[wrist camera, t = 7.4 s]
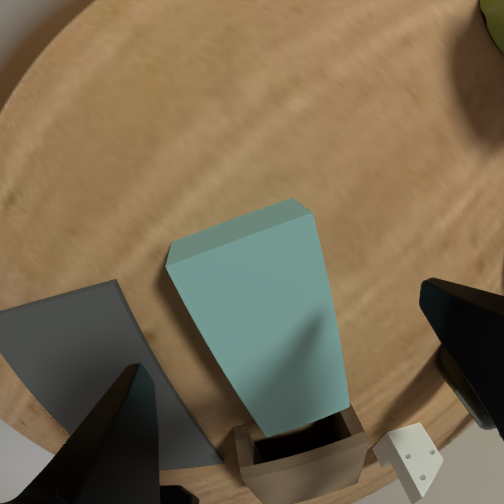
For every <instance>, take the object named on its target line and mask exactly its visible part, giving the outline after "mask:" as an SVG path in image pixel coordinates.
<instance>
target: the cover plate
mask: <svg viewBox="0 0 504 504" xmlns="http://www.w3.org/2000/svg"><path fill="white" fill-rule="evenodd" d="M165 267H166V269H167V271H168V273H169V275H170V277H171V279H172V281H173V283H174V285H175V287H176V289H177V291H178V292H179V294H180V296H181V298H182V300H183V302H184V304H185V306H186V307H187V309H188V311H189V313H190V315H191V317H192V318H193V320H194V322H195V324H196V326H197V327H198V329H199V331H200V333H201V334H202V336H203V338H204V340H205V341H206V343H207V345H208V347H209V348H210V350H211V352H212V353H213V355H214V357H215V358H216V360H217V362H218V363H219V365H220V367H221V368H222V370H223V372H224V373H225V375H226V377H227V378H228V380H229V381H230V383H231V385H232V386H233V388H234V389H235V391H236V392H237V394H238V396H239V397H240V399H241V400H242V402H243V403H244V405H245V406H246V408H247V409H248V411H249V412H250V414H251V415H252V417H253V418H254V420H255V421H256V423H257V424H258V426H259V427H260V428H261V430H262V431H263V433H264V434H265V436H266V437H270V436H273V435H277V434H280V433H283V432H286V431H289V430H292V429H295V428H298V427H301V426H303V425H306V424H309V423H312V422H314V421H317V420H319V419H322V418H324V417H327V416H329V415H332V414H334V413H337V412H339V411H341V410H344V409H346V408H348V407H350V402H349V395H348V387H347V381H346V374H345V367H344V361H343V355H342V349H341V343H340V337H339V332H338V326H337V321H336V316H335V310H334V305H333V300H332V295H331V291H330V286H329V281H328V276H327V272H326V267H325V263H324V258H323V254H322V250H321V245H320V241H319V237H318V233H317V229H316V225H315V221H314V217H313V213H312V212H311V211H310V210H309V209H307V208H306V207H305V206H303V205H302V204H301V203H299V202H298V201H297V200H295V199H294V198H290V199H287V200H284V201H281V202H279V203H276V204H273V205H270V206H267V207H264V208H262V209H259V210H256V211H253V212H251V213H248V214H245V215H242V216H240V217H237V218H234V219H231V220H229V221H226V222H223V223H221V224H218V225H215V226H213V227H210V228H207V229H205V230H202V231H199V232H197V233H194V234H192V235H189V236H187V237H184V238H181V239H179V240H176V241H174V242H172V243H171V246H170V250H169V254H168V258H167V262H166V266H165Z"/></svg>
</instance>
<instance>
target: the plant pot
mask: <svg viewBox="0 0 504 504" xmlns="http://www.w3.org/2000/svg"><path fill="white" fill-rule="evenodd" d="M480 8H481V11H482V12H483V13H484V15H485V17H486V21H487V28H488V30H489V33H490V35H491V37H492V38H493V40H494V42H495V43H496V45H497V46H498V47H499V49H500V50H501V52H502V53H503V54H504V0H480Z"/></svg>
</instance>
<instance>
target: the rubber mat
mask: <svg viewBox="0 0 504 504" xmlns="http://www.w3.org/2000/svg"><path fill="white" fill-rule="evenodd" d="M0 352H1V354H2V355H3V357H4V358H5V360H6V361H7V362H8V364H9V365H10V366H11V368H12V369H13V370H14V372H15V373H16V374H17V376H18V377H19V378H20V379H21V381H22V382H23V383H24V384H25V386H26V387H27V388H28V389H29V391H30V392H31V393H32V394H33V395H34V396H35V398H36V399H37V400H38V401H39V402H40V403H41V404H42V405H43V407H44V408H45V409H46V410H47V411H48V412H49V413H50V414H51V415H52V416H53V417H54V418H55V419H56V420H57V421H58V422H59V423H60V424H61V425H62V426H63V427H64V428H65V429H66V430H67V431H68V432H69V433H70V434H71V435H72V433H73V432H74V431H75V430H76V428H77V427H78V426H79V425H80V423H81V422H82V421H83V420H84V418H85V417H86V416H87V415H88V413H89V412H90V411H91V410H92V408H93V407H94V406H95V405H96V403H97V402H98V401H99V400H100V399H101V397H102V396H103V395H104V394H105V392H106V391H107V390H108V389H109V387H110V386H111V385H112V384H113V383H114V381H115V380H116V379H117V378H118V376H119V375H120V374H121V373H122V372H123V370H124V369H125V368H126V367H127V366H128V365H130V364H135V363H141V364H142V365H143V366H144V367H145V369H146V370H147V372H148V374H149V375H150V377H151V378H152V380H153V382H154V386H155V396H156V407H157V418H158V428H159V470H169V469H182V468H192V467H201V466H209V465H216V464H223V463H224V460H223V458H222V457H221V455H220V454H219V453H218V451H217V450H216V449H215V447H214V446H213V445H212V443H211V442H210V441H209V439H208V438H207V437H206V435H205V434H204V432H203V431H202V430H201V428H200V427H199V425H198V424H197V423H196V421H195V420H194V418H193V417H192V415H191V414H190V412H189V411H188V409H187V408H186V406H185V405H184V403H183V402H182V400H181V399H180V397H179V395H178V394H177V392H176V391H175V389H174V388H173V386H172V384H171V383H170V381H169V379H168V378H167V376H166V374H165V373H164V371H163V369H162V368H161V366H160V364H159V362H158V361H157V359H156V357H155V355H154V354H153V352H152V350H151V348H150V346H149V345H148V343H147V341H146V339H145V337H144V335H143V333H142V331H141V330H140V328H139V326H138V324H137V322H136V320H135V318H134V316H133V314H132V312H131V310H130V308H129V306H128V303H127V301H126V299H125V297H124V295H123V293H122V291H121V289H120V286H119V284H118V282H117V280H116V279H115V280H111V281H107V282H104V283H100V284H96V285H93V286H89V287H85V288H82V289H78V290H74V291H71V292H67V293H64V294H60V295H56V296H53V297H49V298H46V299H42V300H38V301H35V302H31V303H28V304H24V305H21V306H17V307H14V308H10V309H7V310H3V311H0Z"/></svg>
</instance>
